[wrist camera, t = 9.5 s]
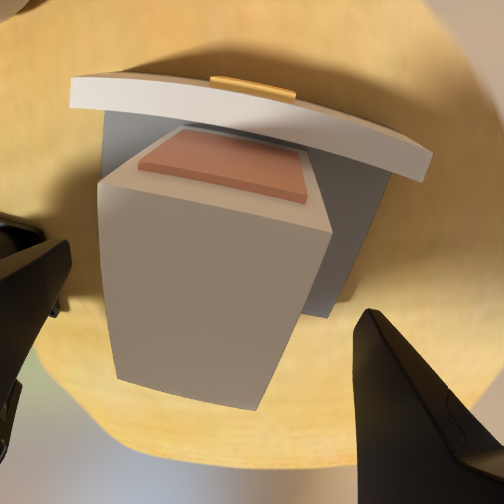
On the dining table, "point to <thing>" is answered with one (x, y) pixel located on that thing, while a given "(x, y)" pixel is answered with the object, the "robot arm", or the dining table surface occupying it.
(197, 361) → the carton
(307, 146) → the grey drawer
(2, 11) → the can
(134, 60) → the dining table surface
